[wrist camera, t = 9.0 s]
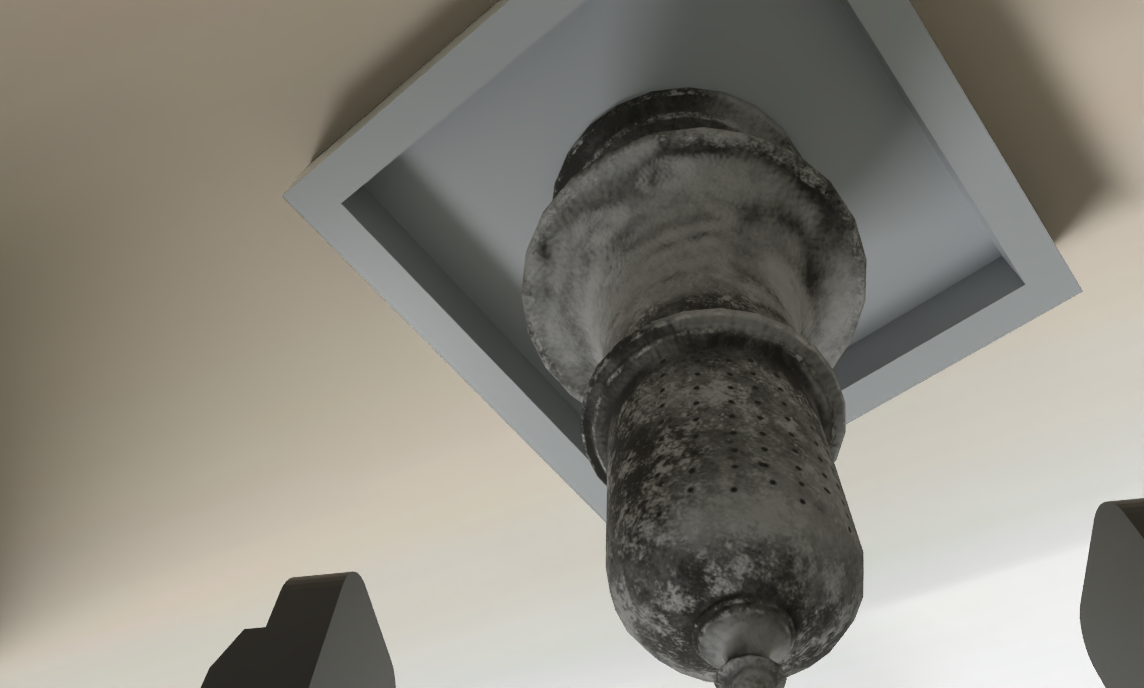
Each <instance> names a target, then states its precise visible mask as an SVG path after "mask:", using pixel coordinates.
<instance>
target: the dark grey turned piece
mask: <svg viewBox="0 0 1144 688" xmlns="http://www.w3.org/2000/svg"><path fill="white" fill-rule="evenodd" d="M866 264H867V259H866V255H865V252H864V248H863V245H862V241H861V238H860V234H859V231H858V227H857V224H856V220H855V218H854V216H853V215H852V213H851V212H850V210H849V209H848V207H847V206H846V204H845V203H844V201H843V200H842V198H841V197H840V195H839V194H838V192H837V191H836V189H835V188H834V186H833V185H832V183H831V182H830V180H828V179H827V178H826V177H825V176H823V175H822V174H821V173H820V172H819V171H817V170H816V169H815V168H814V167H812V166H811V165H810V164H809V163H808V162H806V161H805V160H804V159H803V158H802V157H801V155H800V154H799V152H798V151H797V149H796V148H795V146H794V145H793V143H792V142H791V140H790V139H789V137H788V136H787V134H786V133H785V131H784V130H783V128H782V127H781V126H779V125H778V124H777V123H776V122H775V121H773V120H772V119H771V118H770V117H769V116H767V115H766V114H765V113H764V112H762V111H761V110H760V109H759V108H758V107H756V106H754V105H752V104H750V103H748V102H745V101H743V100H741V99H738V98H736V97H734V96H731V95H729V94H727V93H725V92H719V91H712V90H705V89H698V88H691V87H684V88H676V89H668V90H659V91H651V92H649V93H646V94H644V95H641V96H639V97H636V98H634V99H631V100H629V101H626V102H624V103H621V104H619V105H617V106H616V107H614V108H613V109H611V110H610V111H609V112H607V113H606V114H605V115H603V116H602V117H601V118H599V119H598V120H597V121H595V122H594V123H592V124H591V125H590V126H589V127H588V128H587V129H586V131H585V132H584V133H583V134H582V136H581V137H580V138H579V139H578V141H577V142H576V143H575V144H574V146H573V147H572V148H571V149H570V151H569V152H568V153H567V156H566V158H565V160H564V163H563V165H562V167H561V170H560V172H559V174H558V177H557V179H556V181H555V185H554V192H553V200H552V202H551V203H550V204H549V205H548V207H547V208H546V209H545V210H544V211H543V213H542V215H541V218H540V220H539V222H538V225H537V227H536V229H535V232H534V234H533V236H532V239H531V241H530V243H529V246H528V248H527V250H526V255H525V264H524V272H523V281H522V290H521V297H522V302H523V308H524V313H525V319H526V324H527V330H528V334H529V336H530V338H531V340H532V342H533V344H534V346H535V348H536V350H537V352H538V354H539V356H540V358H541V360H542V362H543V364H544V366H545V367H546V368H547V369H548V371H549V372H550V373H551V374H552V375H553V376H554V377H555V378H556V379H557V381H558V382H559V383H560V384H561V385H562V386H563V387H564V388H565V389H566V390H567V392H568V393H569V394H570V395H571V396H572V397H574V398H576V399H577V400H579V401H580V402H582V409H581V416H580V429H581V435H582V440H583V446H584V452H585V454H586V455H587V457H588V459H589V461H590V463H591V465H592V467H593V469H594V471H595V473H596V475H597V477H598V478H599V479H600V480H601V481H602V482H603V483H604V484H605V485H606V486H607V516H606V571H607V577H608V583H609V589H610V593H611V597H612V600H613V603H614V607H615V610H616V612H617V614H618V616H619V617H620V619H621V621H622V623H623V625H624V626H625V628H626V630H627V632H628V633H629V634H630V635H631V636H633V637H634V638H635V639H636V640H637V641H638V642H639V643H640V644H641V645H642V646H643V647H644V648H645V649H646V650H647V651H648V652H649V653H651V654H652V655H653V656H654V657H655V658H657V659H658V660H659V661H661V662H662V663H664V664H666V665H668V666H669V667H671V668H673V669H674V670H676V671H678V672H680V673H682V674H685V675H688V676H691V677H694V678H697V679H700V680H703V681H707V682H714V684H715V686H716V688H784V686H785V683H786V680H787V678H786V677H788V676H791V675H793V674H795V673H797V672H800V671H802V670H804V669H806V668H809V667H810V666H812V665H813V664H814V663H816V662H817V661H818V660H820V659H821V658H823V657H824V656H825V655H827V654H828V653H829V652H830V651H831V650H832V648H833V647H834V646H835V645H836V643H837V642H838V641H839V640H840V638H841V637H842V636H843V635H844V633H845V632H846V631H847V629H848V628H849V626H850V625H851V624H852V622H853V621H854V619H855V617H856V614H857V611H858V609H859V606H860V604H861V601H862V598H863V550H862V547H861V544H860V541H859V538H858V534H857V531H856V528H855V525H854V522H853V519H852V516H851V513H850V510H849V507H848V504H847V501H846V498H845V495H844V492H843V489H842V486H841V483H840V479H839V476H838V473H837V470H836V467H835V464H834V462H835V461H836V459H837V456H838V453H839V450H840V447H841V444H842V441H843V438H844V435H845V400H844V397H843V394H842V391H841V388H840V385H839V382H838V379H837V376H836V374H835V371H834V370H833V368H834V366H835V365H836V363H837V362H838V360H839V359H840V357H841V356H842V354H843V353H844V351H845V350H846V348H847V347H848V345H849V344H850V342H851V341H852V339H853V336H854V333H855V330H856V327H857V324H858V321H859V318H860V315H861V312H862V309H863V306H864V303H865V300H866Z"/></svg>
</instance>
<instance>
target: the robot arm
mask: <svg viewBox="0 0 1144 688" xmlns="http://www.w3.org/2000/svg"><path fill="white" fill-rule="evenodd" d="M1080 622H1081V629H1082V634H1083V639H1084V643H1085V646H1086V649H1087V652H1088V655H1089V657H1090V660H1091V662H1092V664H1093V666H1094V668H1095V670H1096V672H1097V673H1098V675H1099V677H1100V678H1101V680H1102V682H1103V684H1104V685H1105V687H1106V688H1144V498H1140V499H1130V500H1119V501H1109V502H1104V503H1102V504H1101V505H1100V506H1099V507H1098V509H1097V511H1096V514H1095V518H1094V524H1093V530H1092V536H1091V542H1090V549H1089V555H1088V561H1087V567H1086V573H1085V579H1084V585H1083V592H1082V598H1081V604H1080ZM201 688H396V685H395V676H394V670H393V665H392V662H391V659H390V656H389V653H388V650H387V647H386V644H385V641H384V639H383V636H382V633H381V630H380V627H379V624H378V621H377V618H376V615H375V613H374V610H373V607H372V604H371V601H370V598H369V595H368V592H367V589H366V587H365V584H364V582H363V580H362V578H361V576H360V575H359V574H358V573H356V572H345V573H334V574H324V575H313V576H303V577H293V578H290V579H289V580H287V581H286V582H285V584H284V585H283V587H282V589H281V591H280V594H279V596H278V599H277V601H276V604H275V606H274V608H273V611H272V613H271V616H270V618H269V621H268V623H267V626H266V627H263V628H252V629H244V630H243V631H242V632H241V634H240V635H239V636H238V637H237V638H236V639H235V640H234V641H233V642H232V644H231V645H230V646H229V647H228V648H227V649H226V650H225V651H224V652H223V654H222V655H221V656H220V657H219V658H218V659H217V660H216V661H215V663H214V664H213V665H212V666H211V667H210V668H209V671H208V673H207V675H206V677H205V679H204V682H203V684H202V686H201Z"/></svg>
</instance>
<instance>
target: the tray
mask: <svg viewBox="0 0 1144 688" xmlns="http://www.w3.org/2000/svg"><path fill="white" fill-rule="evenodd" d="M684 87H691V88H698V89H705V90H712V91H719V92H725V93H727V94H729V95H731V96H734V97H736V98H738V99H741V100H743V101H745V102H748V103H750V104H752V105H754V106H756V107H758V108H759V109H760V110H761V111H762V112H764V113H765V114H766V115H767V116H769V117H770V118H771V119H772V120H773V121H775V122H776V123H777V124H778V125H779V126H781V127H782V128H783V130H784V131H785V133H786V134H787V136H788V137H789V139H790V140H791V142H792V143H793V145H794V146H795V148H796V149H797V151H798V152H799V154H800V155H801V157H802V158H803V159H804V160H805V161H806V162H808V163H809V164H810V165H811V166H812V167H814V168H815V169H816V170H817V171H819V172H820V173H821V174H822V175H823V176H825V177H826V178H827V179H828V180H830V182H831V183H832V185H833V186H834V188H835V189H836V191H837V192H838V194H839V195H840V197H841V198H842V200H843V201H844V203H845V204H846V206H847V207H848V209H849V210H850V212H851V213H852V215H853V216H854V218H855V220H856V224H857V227H858V231H859V234H860V238H861V241H862V245H863V248H864V252H865V255H866V259H867V264H866V300H865V303H864V306H863V309H862V312H861V315H860V318H859V321H858V324H857V327H856V330H855V333H854V336H853V339H852V341H851V342H850V344H849V345H848V347H847V348H846V350H845V351H844V353H843V354H842V356H841V357H840V359H839V360H838V362H837V363H836V365H835V366H834V368H833V370H834V371H835V374H836V376H837V379H838V382H839V385H840V388H841V391H842V394H843V397H844V400H845V425H846V424H847V423H849V422H851V421H853V420H854V419H856V418H858V417H860V416H862V415H863V414H865V413H867V412H869V411H871V410H872V409H874V408H876V407H878V406H879V405H881V404H883V403H885V402H887V401H888V400H890V399H892V398H894V397H895V396H897V395H899V394H901V393H903V392H904V391H906V390H908V389H910V388H912V387H913V386H915V385H917V384H919V383H920V382H922V381H924V380H926V379H928V378H929V377H931V376H933V375H935V374H936V373H938V372H940V371H942V370H944V369H945V368H947V367H949V366H951V365H953V364H954V363H956V362H958V361H960V360H961V359H963V358H965V357H967V356H969V355H970V354H972V353H974V352H976V351H977V350H979V349H981V348H983V347H985V346H986V345H988V344H990V343H992V342H993V341H995V340H997V339H999V338H1001V337H1002V336H1004V335H1006V334H1008V333H1010V332H1011V331H1013V330H1015V329H1017V328H1018V327H1020V326H1022V325H1024V324H1026V323H1027V322H1029V321H1031V320H1033V319H1034V318H1036V317H1038V316H1040V315H1042V314H1043V313H1045V312H1047V311H1049V310H1051V309H1052V308H1054V307H1056V306H1058V305H1059V304H1061V303H1063V302H1065V301H1067V300H1068V299H1070V298H1072V297H1074V296H1075V295H1077V294H1079V293H1081V292H1083V291H1082V289H1081V287H1080V286H1079V284H1078V282H1077V280H1076V279H1075V277H1074V275H1073V274H1072V272H1071V270H1070V269H1069V267H1068V265H1067V264H1066V262H1065V260H1064V259H1063V257H1062V255H1061V254H1060V252H1059V250H1058V249H1057V247H1056V245H1055V244H1054V242H1053V240H1052V239H1051V237H1050V235H1049V234H1048V232H1047V230H1046V229H1045V227H1044V225H1043V224H1042V222H1041V220H1040V219H1039V217H1038V215H1037V213H1036V212H1035V210H1034V208H1033V207H1032V205H1031V203H1030V202H1029V200H1028V198H1027V197H1026V195H1025V193H1024V192H1023V190H1022V188H1021V187H1020V185H1019V183H1018V182H1017V180H1016V178H1015V177H1014V175H1013V173H1012V172H1011V170H1010V168H1009V167H1008V165H1007V163H1006V162H1005V160H1004V158H1003V157H1002V155H1001V153H1000V152H999V150H998V148H997V146H996V145H995V143H994V141H993V140H992V138H991V136H990V135H989V133H988V131H987V130H986V128H985V126H984V125H983V123H982V121H981V120H980V118H979V116H978V115H977V113H976V111H975V110H974V108H973V106H972V105H971V103H970V101H969V100H968V98H967V96H966V95H965V93H964V91H963V90H962V88H961V86H960V84H959V83H958V81H957V79H956V78H955V76H954V74H953V73H952V71H951V69H950V68H949V66H948V64H947V63H946V61H945V59H944V58H943V56H942V54H941V53H940V51H939V49H938V48H937V46H936V44H935V43H934V41H933V39H932V38H931V36H930V34H929V33H928V31H927V29H926V28H925V26H924V24H923V23H922V21H921V19H920V17H919V16H918V14H917V12H916V11H915V9H914V7H913V6H912V4H911V2H910V1H909V0H499V1H497V2H496V3H495V4H494V5H493V6H492V7H490V8H489V9H488V10H487V11H486V12H485V13H483V14H482V15H481V16H480V17H479V18H478V19H477V20H475V21H474V22H473V23H472V24H471V25H470V26H468V27H467V28H466V29H465V30H464V31H463V32H462V33H460V34H459V35H458V36H457V37H456V38H455V39H453V40H452V41H451V42H450V43H449V44H448V45H447V46H445V47H444V48H443V49H442V50H441V51H440V52H438V53H437V54H436V55H435V56H434V57H433V58H432V59H430V60H429V61H428V62H427V63H426V64H425V65H423V66H422V67H421V68H420V69H419V70H418V71H416V72H415V73H414V74H413V75H412V76H411V77H410V78H408V79H407V80H406V81H405V82H404V83H403V84H401V85H400V86H399V87H398V88H397V89H396V90H395V91H393V92H392V93H391V94H390V95H389V96H388V97H386V98H385V99H384V100H383V101H382V102H381V103H380V104H378V105H377V106H376V107H375V108H374V109H373V110H371V111H370V112H369V113H368V114H367V115H366V116H365V117H363V118H362V119H361V120H360V121H359V122H358V123H356V124H355V125H354V126H353V127H352V128H351V129H349V130H348V131H347V132H346V133H345V134H344V135H343V136H341V137H340V138H339V139H338V140H337V141H336V142H334V143H333V144H332V145H331V146H330V147H329V148H328V149H326V150H325V151H324V152H323V153H322V154H321V155H319V156H318V157H317V158H316V159H315V160H314V161H313V162H311V163H310V164H309V165H308V166H307V167H306V169H305V170H304V171H303V172H302V173H301V175H300V176H299V177H298V178H297V179H296V180H295V182H294V183H293V184H292V185H291V186H290V187H289V189H288V190H287V191H286V192H285V193H284V195H283V196H282V197H283V198H284V199H285V200H286V201H287V202H288V203H289V204H290V205H291V206H292V207H293V208H294V209H295V210H296V211H297V212H298V213H299V214H300V215H301V216H302V217H303V218H304V219H305V220H306V221H307V222H308V223H309V224H310V225H311V226H312V227H313V228H314V229H315V230H316V231H317V232H318V233H319V234H320V235H321V236H322V237H323V238H324V239H325V240H326V241H327V242H328V243H329V244H330V245H331V246H332V247H333V248H334V249H335V250H336V251H337V252H338V253H339V254H340V255H341V257H342V258H343V259H344V260H345V261H346V262H347V263H348V264H349V265H350V266H351V267H352V268H353V269H354V270H355V271H356V272H357V273H358V274H359V275H360V276H361V277H362V278H363V279H364V280H365V281H366V282H367V283H368V284H369V285H370V286H371V287H372V288H373V289H374V290H375V291H376V292H377V293H378V294H379V295H380V296H381V297H382V298H383V299H384V300H385V301H386V302H387V303H388V304H389V305H390V306H391V307H392V308H393V309H394V310H395V311H396V312H397V313H398V314H399V315H400V316H401V317H402V318H403V319H404V320H405V321H406V322H407V323H408V324H409V325H410V326H411V327H412V328H413V329H414V330H415V331H416V332H417V333H418V334H419V335H420V336H421V337H422V338H423V339H424V340H425V341H426V342H427V343H428V344H429V345H430V346H431V347H432V348H433V349H434V350H435V351H436V352H437V353H438V354H439V355H440V356H441V357H442V358H443V359H444V360H445V361H446V362H447V363H448V364H449V365H450V366H451V367H452V368H453V369H454V370H455V371H456V372H457V373H458V374H459V375H460V376H461V377H462V378H463V379H464V380H465V381H466V382H467V383H468V384H469V385H470V386H471V387H472V388H473V389H474V390H475V391H476V392H477V393H478V394H479V395H480V396H481V397H482V398H483V399H484V400H485V401H486V402H487V403H488V404H489V405H490V406H491V407H492V408H493V409H494V410H495V411H496V412H497V413H498V415H499V416H500V417H501V418H502V419H503V420H504V421H505V422H506V423H507V424H508V425H509V426H510V427H511V428H512V429H513V430H514V431H515V432H516V433H517V434H518V435H519V436H520V437H521V438H522V439H523V440H524V441H525V442H526V443H527V444H528V445H529V446H530V447H531V448H532V449H533V450H534V451H535V452H536V453H537V454H538V455H539V456H540V457H541V458H542V459H543V460H544V461H545V462H546V463H547V464H548V465H549V466H550V467H551V468H552V469H553V470H554V471H555V472H556V473H557V474H558V475H559V476H560V477H561V478H562V479H563V480H564V481H565V482H566V483H567V484H568V485H569V486H570V487H571V488H572V489H573V490H574V491H575V492H576V493H577V494H578V495H579V496H580V497H581V498H582V499H583V500H584V501H585V502H586V503H587V504H588V505H589V506H590V507H591V508H592V509H593V510H594V511H595V512H596V513H597V514H598V515H599V516H600V517H601V518H602V519H603V520H604V521H605V522H606V516H607V486H606V485H605V484H604V483H603V482H602V481H601V480H600V479H599V478H598V477H597V475H596V473H595V471H594V469H593V467H592V465H591V463H590V461H589V459H588V457H587V455H586V454H585V452H584V446H583V440H582V435H581V429H580V416H581V409H582V402H580V401H579V400H577V399H576V398H574V397H572V396H571V395H570V394H569V393H568V392H567V390H566V389H565V388H564V387H563V386H562V385H561V384H560V383H559V382H558V381H557V379H556V378H555V377H554V376H553V375H552V374H551V373H550V372H549V371H548V369H547V368H546V367H545V366H544V364H543V362H542V360H541V358H540V356H539V354H538V352H537V350H536V348H535V346H534V344H533V342H532V340H531V338H530V336H529V334H528V330H527V324H526V319H525V313H524V308H523V302H522V297H521V290H522V281H523V272H524V264H525V255H526V250H527V248H528V246H529V243H530V241H531V239H532V236H533V234H534V232H535V229H536V227H537V225H538V222H539V220H540V218H541V215H542V213H543V211H544V210H545V209H546V208H547V207H548V205H549V204H550V203H551V202H552V200H553V192H554V185H555V181H556V179H557V177H558V174H559V172H560V170H561V167H562V165H563V163H564V160H565V158H566V156H567V153H568V152H569V151H570V149H571V148H572V147H573V146H574V144H575V143H576V142H577V141H578V139H579V138H580V137H581V136H582V134H583V133H584V132H585V131H586V129H587V128H588V127H589V126H590V125H591V124H592V123H594V122H595V121H597V120H598V119H599V118H601V117H602V116H603V115H605V114H606V113H607V112H609V111H610V110H611V109H613V108H614V107H616V106H617V105H619V104H621V103H624V102H626V101H629V100H631V99H634V98H636V97H639V96H641V95H644V94H646V93H649V92H651V91H659V90H668V89H676V88H684Z"/></svg>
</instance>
